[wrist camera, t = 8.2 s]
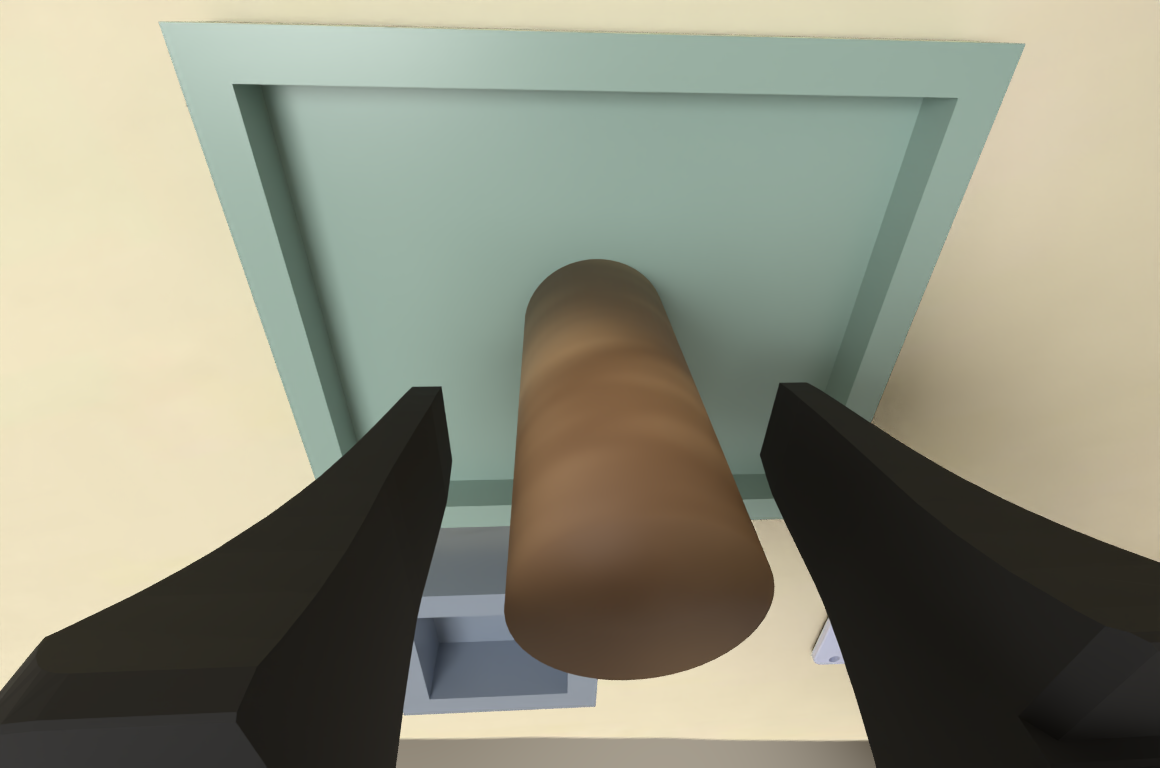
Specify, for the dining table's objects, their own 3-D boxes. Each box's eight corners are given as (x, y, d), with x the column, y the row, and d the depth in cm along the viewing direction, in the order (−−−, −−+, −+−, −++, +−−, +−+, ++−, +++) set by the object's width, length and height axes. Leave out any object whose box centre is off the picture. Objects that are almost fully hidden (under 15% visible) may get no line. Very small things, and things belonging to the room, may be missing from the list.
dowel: (673, 261, 15) (808, 516, 7) (654, 384, 17) (741, 677, 9) (524, 256, 14) (500, 516, 7) (524, 382, 16) (506, 683, 9)
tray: (968, 40, 13) (1025, 43, 11) (811, 481, 20) (832, 517, 19) (208, 21, 12) (158, 22, 10) (349, 491, 19) (332, 530, 18)
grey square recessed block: (597, 523, 21) (604, 590, 19) (590, 639, 25) (595, 706, 23) (387, 528, 21) (366, 598, 18) (418, 646, 25) (404, 715, 23)
